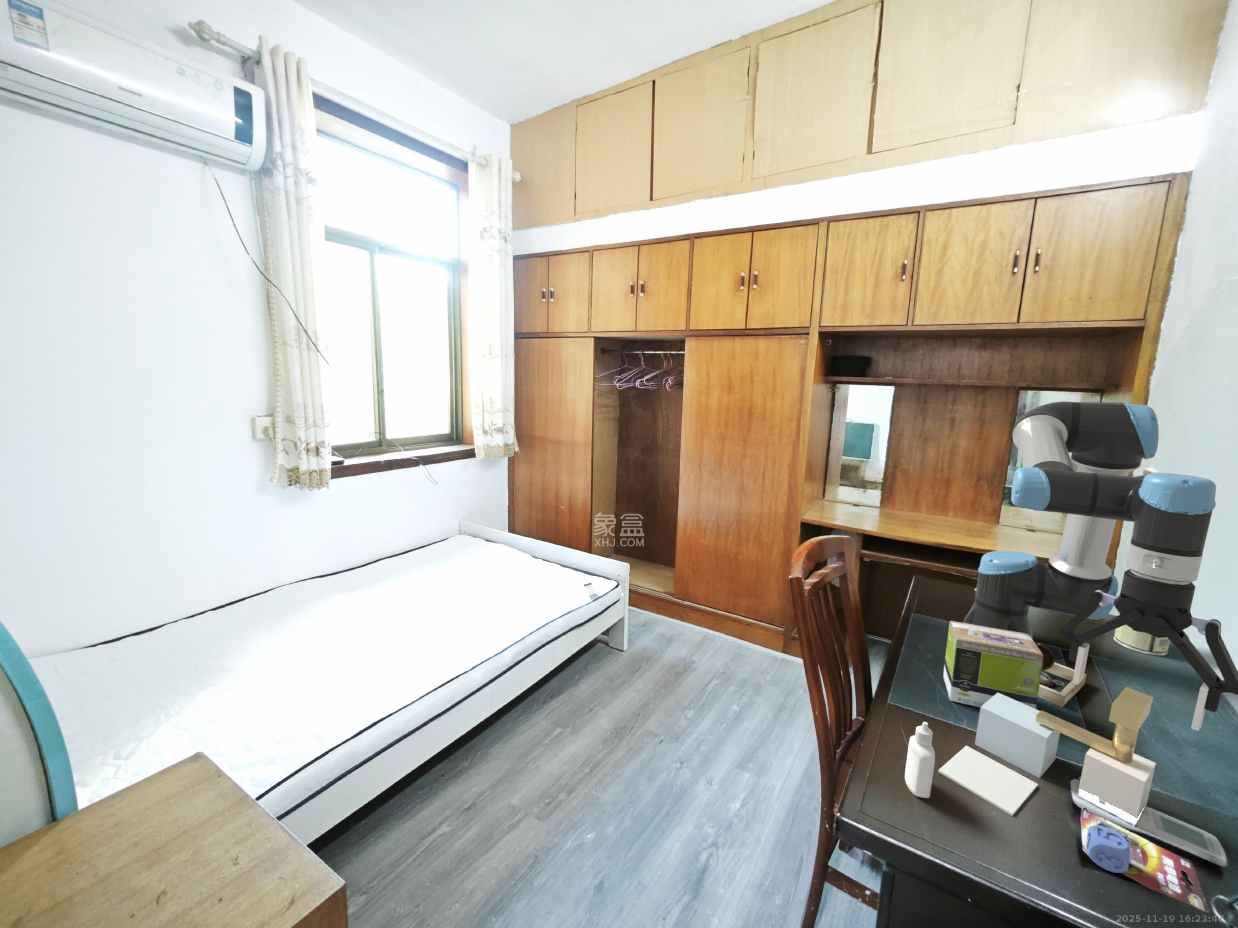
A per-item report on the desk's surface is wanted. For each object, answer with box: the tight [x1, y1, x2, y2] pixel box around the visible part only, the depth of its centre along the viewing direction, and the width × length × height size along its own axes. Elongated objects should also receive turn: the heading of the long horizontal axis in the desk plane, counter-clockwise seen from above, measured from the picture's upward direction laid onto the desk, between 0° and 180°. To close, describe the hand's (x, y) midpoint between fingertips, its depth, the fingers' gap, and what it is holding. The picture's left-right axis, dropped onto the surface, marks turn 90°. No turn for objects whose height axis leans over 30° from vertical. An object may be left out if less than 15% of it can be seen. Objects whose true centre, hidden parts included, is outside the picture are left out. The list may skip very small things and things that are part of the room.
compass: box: [1034, 642, 1065, 688], centre depth 118 cm, size 8×8×7 cm
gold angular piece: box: [1036, 686, 1154, 762], centre depth 86 cm, size 13×8×10 cm, turn 34°
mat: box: [937, 745, 1039, 817], centre depth 89 cm, size 11×11×1 cm
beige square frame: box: [1038, 661, 1087, 708], centre depth 119 cm, size 15×15×2 cm
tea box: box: [943, 620, 1044, 709], centre depth 110 cm, size 15×10×15 cm
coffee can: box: [1113, 613, 1171, 657], centre depth 134 cm, size 10×10×14 cm
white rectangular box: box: [1078, 746, 1157, 818], centre depth 84 cm, size 7×7×8 cm
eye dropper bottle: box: [904, 721, 936, 799], centre depth 86 cm, size 4×6×12 cm
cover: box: [974, 693, 1061, 779], centre depth 95 cm, size 10×8×8 cm
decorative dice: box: [1086, 824, 1131, 874], centre depth 74 cm, size 4×4×4 cm
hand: (1132, 702), depth 81 cm, fingers open, 13 cm apart
